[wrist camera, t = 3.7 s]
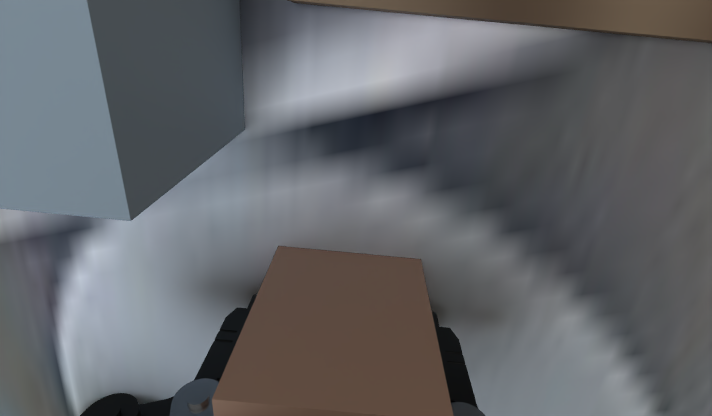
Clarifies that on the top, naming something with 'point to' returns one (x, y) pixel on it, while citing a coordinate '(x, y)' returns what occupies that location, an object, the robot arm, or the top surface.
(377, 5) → the board
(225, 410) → the terracotta block
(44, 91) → the slate block
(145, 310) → the top surface
